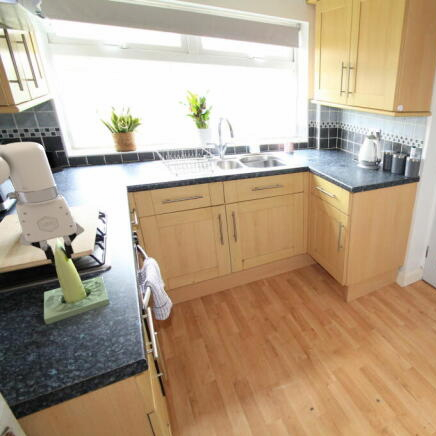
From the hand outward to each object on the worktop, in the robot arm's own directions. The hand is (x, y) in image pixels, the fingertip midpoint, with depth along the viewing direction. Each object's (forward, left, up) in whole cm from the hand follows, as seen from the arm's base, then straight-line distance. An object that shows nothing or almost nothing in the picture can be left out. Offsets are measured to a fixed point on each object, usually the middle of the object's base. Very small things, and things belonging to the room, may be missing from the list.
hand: (61, 258), depth 85 cm
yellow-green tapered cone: (0, 0, -15) cm, 15 cm away
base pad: (0, 0, -15) cm, 15 cm away
